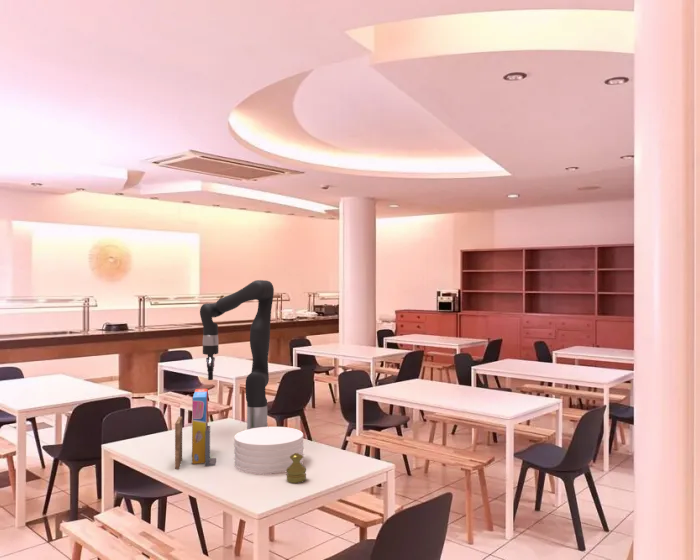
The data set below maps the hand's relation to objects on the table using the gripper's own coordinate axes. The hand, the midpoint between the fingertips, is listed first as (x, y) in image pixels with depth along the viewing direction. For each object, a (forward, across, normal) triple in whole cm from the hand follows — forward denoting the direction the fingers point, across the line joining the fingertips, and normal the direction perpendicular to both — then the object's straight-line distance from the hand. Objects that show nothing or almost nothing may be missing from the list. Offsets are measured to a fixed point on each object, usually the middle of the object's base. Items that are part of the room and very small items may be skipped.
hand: (210, 379), depth 271 cm
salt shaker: (+27, -71, -35) cm, 84 cm away
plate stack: (+27, -48, -26) cm, 61 cm away
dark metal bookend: (+27, -43, -2) cm, 51 cm away
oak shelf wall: (+27, -43, +10) cm, 52 cm away
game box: (+27, -34, +2) cm, 44 cm away
